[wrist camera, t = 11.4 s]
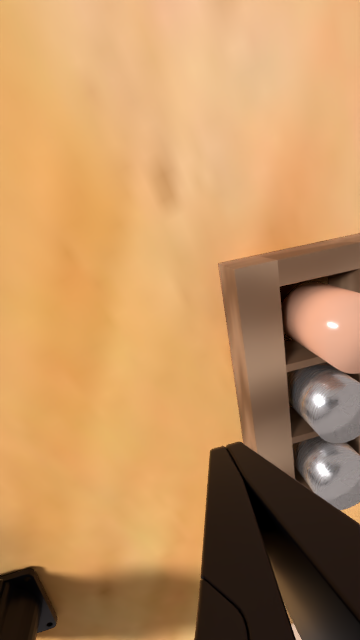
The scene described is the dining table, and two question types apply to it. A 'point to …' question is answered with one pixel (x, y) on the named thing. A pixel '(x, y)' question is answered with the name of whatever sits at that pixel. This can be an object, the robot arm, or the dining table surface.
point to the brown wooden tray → (277, 340)
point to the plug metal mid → (326, 401)
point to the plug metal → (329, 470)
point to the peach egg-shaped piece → (325, 323)
